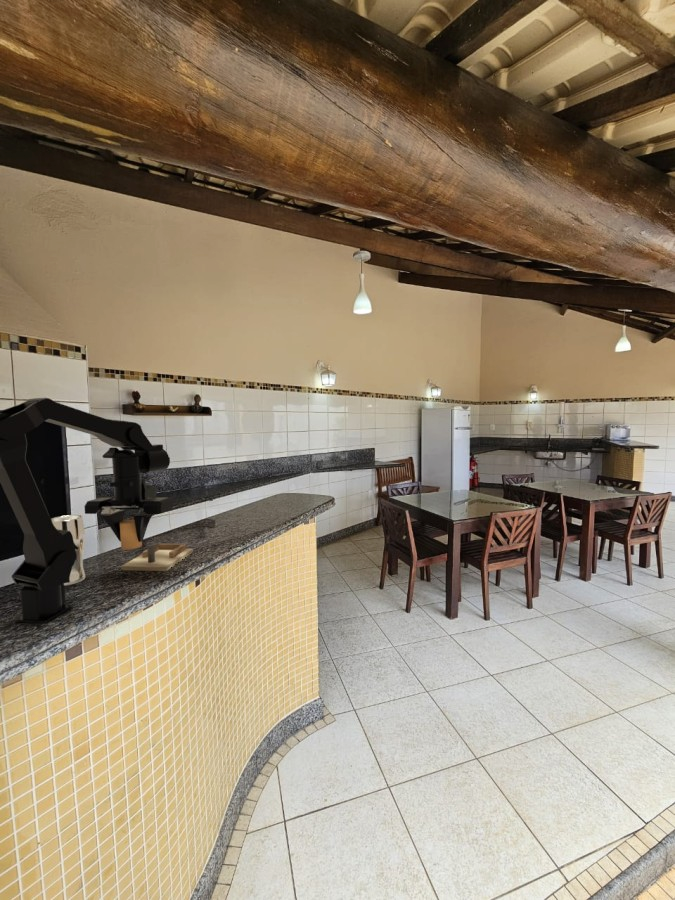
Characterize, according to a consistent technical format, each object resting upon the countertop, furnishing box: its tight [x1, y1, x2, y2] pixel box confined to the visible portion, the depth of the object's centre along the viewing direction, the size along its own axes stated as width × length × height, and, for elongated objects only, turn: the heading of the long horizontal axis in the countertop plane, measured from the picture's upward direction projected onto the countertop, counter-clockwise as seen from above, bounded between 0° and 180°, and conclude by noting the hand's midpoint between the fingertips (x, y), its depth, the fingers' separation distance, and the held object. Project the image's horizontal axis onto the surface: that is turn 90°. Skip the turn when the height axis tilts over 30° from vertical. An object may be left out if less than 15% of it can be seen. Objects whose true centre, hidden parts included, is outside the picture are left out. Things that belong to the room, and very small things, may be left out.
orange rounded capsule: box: [120, 518, 143, 551], centre depth 93 cm, size 4×4×6 cm
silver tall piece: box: [51, 514, 86, 587], centre depth 92 cm, size 7×7×15 cm
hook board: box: [120, 542, 194, 572], centre depth 105 cm, size 14×12×5 cm
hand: (131, 541), depth 94 cm, fingers closed on orange rounded capsule, 4 cm apart
